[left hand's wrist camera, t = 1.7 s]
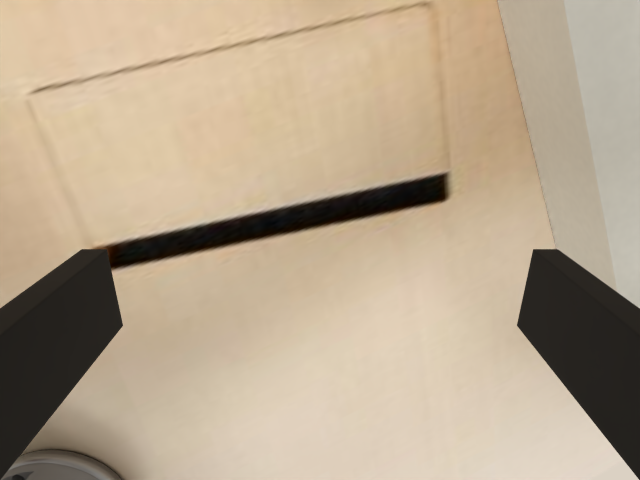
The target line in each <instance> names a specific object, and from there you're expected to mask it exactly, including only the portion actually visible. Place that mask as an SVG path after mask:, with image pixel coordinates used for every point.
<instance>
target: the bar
mask: <svg viewBox="0 0 640 480" xmlns="http://www.w3.org/2000/svg"><path fill="white" fill-rule="evenodd" d="M497 2H498V6H499V10H500V14H501V18H502V23H503V27H504V31H505V35H506V39H507V44H508V48H509V52H510V56H511V60H512V65H513V69H514V73H515V77H516V81H517V86H518V90H519V94H520V98H521V102H522V107H523V111H524V115H525V119H526V123H527V127H528V132H529V136H530V140H531V144H532V148H533V153H534V157H535V161H536V165H537V169H538V174H539V178H540V182H541V186H542V190H543V195H544V199H545V203H546V207H547V211H548V216H549V220H550V224H551V228H552V232H553V237H554V241H555V245H556V249H558V250H560V251H561V252H562V253H564V254H565V255H567V256H568V257H569V258H571V259H572V260H573V261H575V262H576V263H578V264H579V265H580V266H582V267H583V268H585V269H586V270H587V271H589V272H590V273H591V274H593V275H594V276H596V277H597V278H598V279H600V280H601V281H602V282H604V283H605V284H607V285H608V286H609V287H611V288H612V289H614V290H615V291H616V292H618V293H619V294H620V295H622V296H623V297H625V298H626V299H627V300H629V301H630V302H632V303H633V304H634V305H636V306H637V307H638V308H640V0H497Z"/></svg>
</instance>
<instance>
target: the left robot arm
mask: <svg viewBox="0 0 640 480" xmlns="http://www.w3.org/2000/svg"><path fill="white" fill-rule="evenodd" d="M122 326H123V324H122V319H121V314H120V310H119V305H118V300H117V295H116V291H115V286H114V281H113V277H112V272H111V267H110V263H109V258H108V253H107V249H82V250H80V251H79V252H78V253H76V254H75V255H73V256H72V257H71V258H69V259H68V260H67V261H65V262H64V263H62V264H61V265H60V266H58V267H57V268H55V269H54V270H53V271H51V272H50V273H49V274H47V275H46V276H44V277H43V278H42V279H40V280H39V281H38V282H36V283H35V284H33V285H32V286H31V287H29V288H28V289H26V290H25V291H24V292H22V293H21V294H20V295H18V296H17V297H15V298H14V299H13V300H11V301H10V302H8V303H7V304H6V305H4V306H3V307H2V308H0V480H122V479H121V478H120V477H119V476H118V475H117V474H116V473H115V472H114V471H112V470H111V469H110V468H108V467H107V466H105V465H104V464H102V463H100V462H98V461H96V460H94V459H92V458H90V457H87V456H84V455H81V454H78V453H74V452H69V451H62V450H41V451H35V452H31V453H27V454H24V455H22V456H20V455H21V453H22V452H23V451H24V450H25V448H26V447H27V446H28V445H29V443H30V442H31V441H32V440H33V438H34V437H35V436H36V435H37V433H38V432H39V431H40V429H41V428H42V427H43V426H44V424H45V423H46V422H47V421H48V419H49V418H50V417H51V416H52V414H53V413H54V412H55V411H56V409H57V408H58V407H59V406H60V404H61V403H62V402H63V400H64V399H65V398H66V397H67V395H68V394H69V393H70V392H71V390H72V389H73V388H74V387H75V385H76V384H77V383H78V382H79V380H80V379H81V378H82V377H83V375H84V374H85V373H86V371H87V370H88V369H89V368H90V366H91V365H92V364H93V363H94V361H95V360H96V359H97V358H98V356H99V355H100V354H101V353H102V351H103V350H104V349H105V348H106V346H107V345H108V344H109V342H110V341H111V340H112V339H113V337H114V336H115V335H116V334H117V332H118V331H119V330H120V329H121V327H122ZM517 326H518V327H519V329H520V330H521V331H522V332H523V334H524V335H525V336H526V337H527V339H528V340H529V341H530V342H531V344H532V345H533V346H534V348H535V349H536V350H537V351H538V353H539V354H540V355H541V356H542V358H543V359H544V360H545V361H546V363H547V364H548V365H549V366H550V368H551V369H552V370H553V371H554V373H555V374H556V375H557V377H558V378H559V379H560V380H561V382H562V383H563V384H564V385H565V387H566V388H567V389H568V390H569V392H570V393H571V394H572V395H573V397H574V398H575V399H576V400H577V402H578V403H579V404H580V406H581V407H582V408H583V409H584V411H585V412H586V413H587V414H588V416H589V417H590V418H591V419H592V421H593V422H594V423H595V424H596V426H597V427H598V428H599V429H600V431H601V432H602V433H603V435H604V436H605V437H606V438H607V440H608V441H609V442H610V443H611V445H612V446H613V447H614V448H615V450H616V451H617V452H618V453H619V455H620V456H621V457H622V458H623V460H624V461H625V462H626V464H627V465H628V466H629V467H630V469H631V470H632V471H633V472H634V474H635V475H636V476H637V477H638V479H639V480H640V308H638V307H637V306H636V305H634V304H633V303H632V302H630V301H629V300H627V299H626V298H625V297H623V296H622V295H620V294H619V293H618V292H616V291H615V290H614V289H612V288H611V287H609V286H608V285H607V284H605V283H604V282H602V281H601V280H600V279H598V278H597V277H596V276H594V275H593V274H591V273H590V272H589V271H587V270H586V269H585V268H583V267H582V266H580V265H579V264H578V263H576V262H575V261H573V260H572V259H571V258H569V257H568V256H567V255H565V254H564V253H562V252H561V251H560V250H558V249H533V253H532V258H531V263H530V267H529V272H528V277H527V281H526V286H525V291H524V295H523V300H522V305H521V310H520V314H519V319H518V324H517ZM19 456H20V457H19Z"/></svg>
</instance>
